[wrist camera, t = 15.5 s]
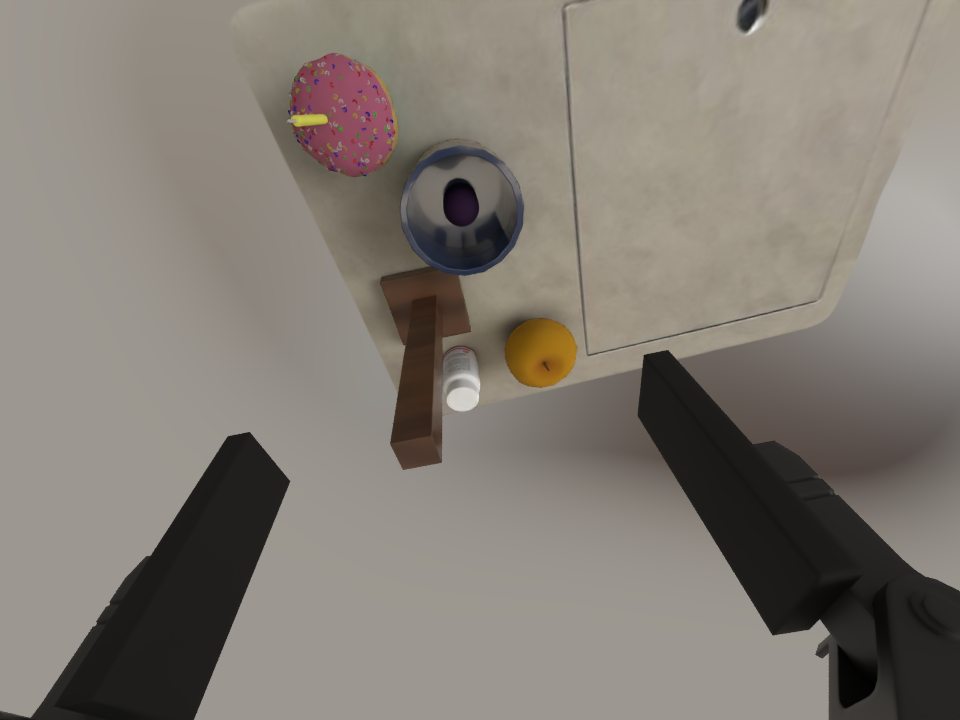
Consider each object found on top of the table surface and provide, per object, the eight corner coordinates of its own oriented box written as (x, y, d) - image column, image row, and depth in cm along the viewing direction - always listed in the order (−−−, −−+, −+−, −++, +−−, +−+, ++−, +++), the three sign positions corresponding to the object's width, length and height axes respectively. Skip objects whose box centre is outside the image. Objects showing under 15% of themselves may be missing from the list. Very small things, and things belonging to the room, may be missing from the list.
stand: (381, 277, 43) (330, 422, 24) (455, 261, 43) (464, 396, 23) (404, 339, 48) (377, 500, 29) (470, 326, 48) (488, 479, 28)
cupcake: (316, 165, 36) (268, 189, 26) (298, 53, 31) (231, 31, 21) (404, 171, 37) (390, 197, 27) (400, 64, 32) (381, 48, 22)
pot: (391, 152, 36) (381, 162, 30) (504, 127, 35) (516, 132, 30) (423, 260, 42) (419, 285, 37) (518, 240, 42) (530, 262, 36)
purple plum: (437, 191, 38) (436, 201, 34) (469, 176, 37) (471, 184, 33) (452, 224, 40) (452, 237, 36) (482, 210, 39) (486, 222, 35)
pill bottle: (436, 361, 51) (435, 402, 44) (458, 339, 49) (460, 378, 42) (462, 378, 53) (464, 419, 46) (483, 357, 51) (490, 397, 44)
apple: (549, 364, 53) (566, 406, 46) (491, 353, 51) (499, 395, 44) (575, 311, 48) (599, 348, 41) (512, 296, 46) (525, 333, 39)
